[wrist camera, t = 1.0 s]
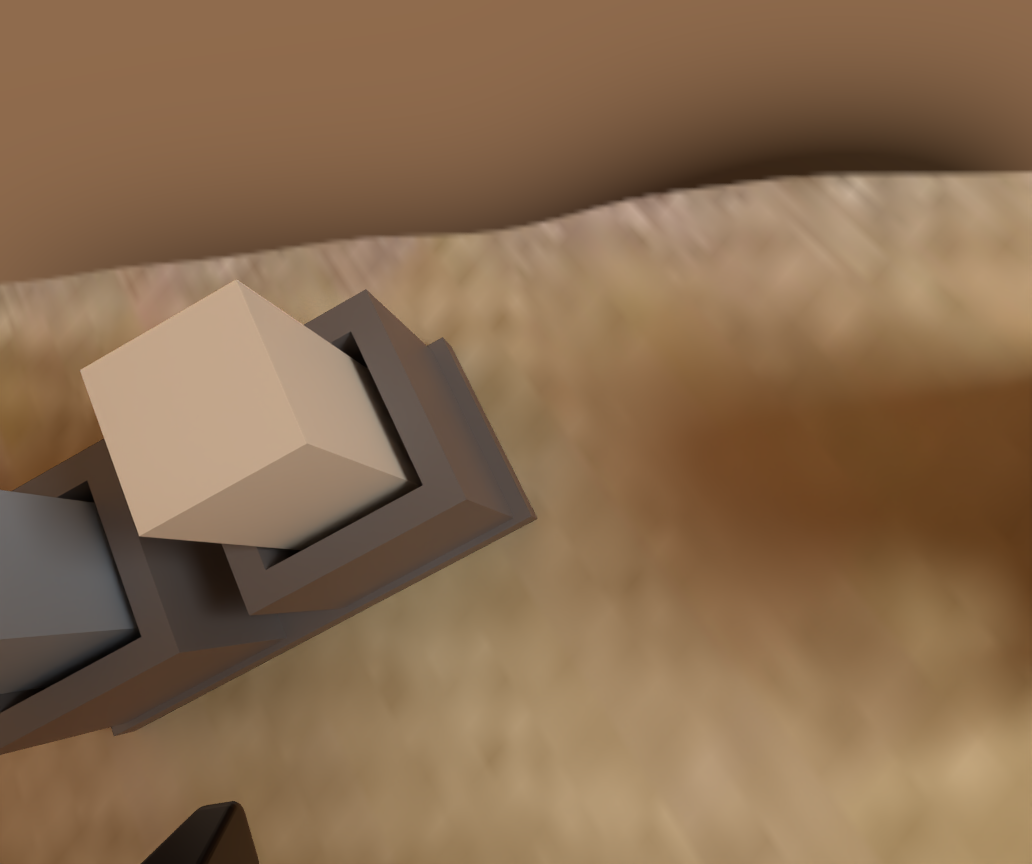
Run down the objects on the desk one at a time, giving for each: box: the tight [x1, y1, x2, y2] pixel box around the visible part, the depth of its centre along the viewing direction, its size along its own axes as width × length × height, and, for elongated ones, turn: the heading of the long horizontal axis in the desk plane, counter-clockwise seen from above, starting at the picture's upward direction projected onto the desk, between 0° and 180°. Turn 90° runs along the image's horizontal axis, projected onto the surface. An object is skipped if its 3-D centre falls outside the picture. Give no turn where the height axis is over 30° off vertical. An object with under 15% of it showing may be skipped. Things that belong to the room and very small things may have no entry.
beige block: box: [80, 279, 423, 550], centre depth 18 cm, size 4×4×7 cm
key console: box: [0, 290, 537, 755], centre depth 23 cm, size 6×15×6 cm, turn 117°
